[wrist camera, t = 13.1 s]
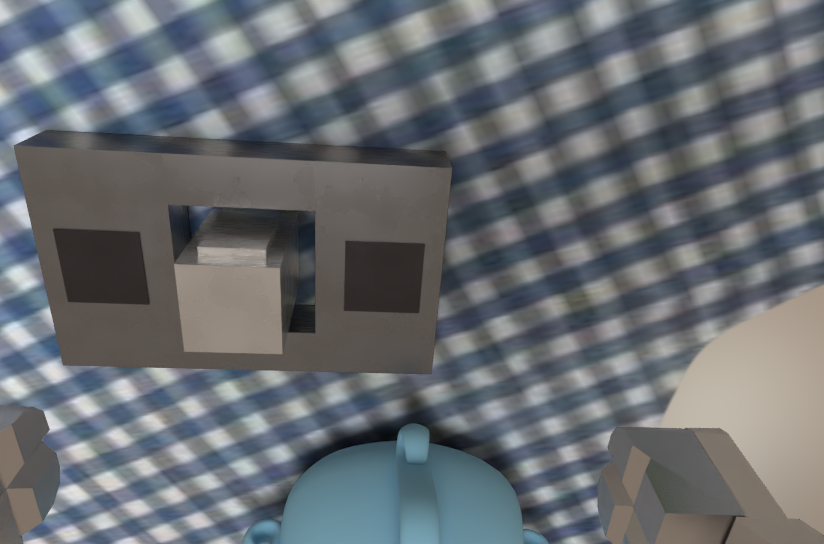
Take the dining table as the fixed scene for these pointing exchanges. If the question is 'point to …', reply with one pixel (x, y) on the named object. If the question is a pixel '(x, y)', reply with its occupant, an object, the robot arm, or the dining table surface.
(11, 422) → the robot arm
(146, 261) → the grey flat block
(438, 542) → the decorative pot
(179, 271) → the stepped metal block
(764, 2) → the dining table surface
